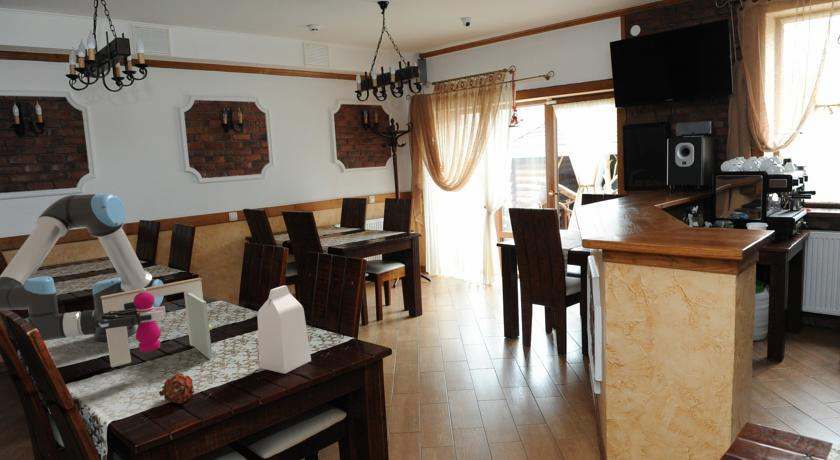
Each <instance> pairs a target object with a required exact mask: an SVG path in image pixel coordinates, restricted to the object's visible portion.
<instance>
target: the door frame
mask: <svg viewBox="0 0 840 460" xmlns="http://www.w3.org/2000/svg"><path fill="white" fill-rule="evenodd" d="M202 281H203V278H201V277H196V278H191V279H186V280H181V281H174V282H169V283H165V284H164V283H163V285H158V286H153V287H148V288H145V289H146V292H148V293H151V294H152V295H153V296H154V298H155V297H160V296H168V295H169V296H170V295H174V294H180V293H183V294H184V302H185V303H184V304H185V313H186V314H185V315H186V321H187V331H188V337H189V345H190V346H191V347H194V346H193V345H192V339H191V330H190V321H189V313H188V304H187V295H186V293H188V292H190V293H192V294H194V295H195V296H197V297H199V298H201V299H202V300H204V294H203V286H202ZM139 293H141V292H140V289H137V290H132V291H127V292H121V293H116V294H111V295H105V296H100V298H101V299H102V305H103V312H104V313H108V312H109V311H120V310H124V304H125V303H130V302H134V297H135V296H136V295H137V294H139ZM106 334H107V341H106V342H107V347H108V355H109V357H108V358H109V363H110V367H111V368H115V367H116V368H117V367H118V366H124V365H127V364H131V362H132V356H131V350H130V349H131V348H130V343H129V342H130V341H129V336H128V333H127V326H124V327H116V328H109V329H106Z"/></svg>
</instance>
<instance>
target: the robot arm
mask: <svg viewBox="0 0 840 460" xmlns="http://www.w3.org/2000/svg"><path fill="white" fill-rule="evenodd" d="M125 211H126V208H125V204H124V203H123V201H122V199H120V197H119V196H118V195H115V194H112V193H106V192H105V193H104V192H100V193H99V192H98V193H93V194H92V193H90V194H70V195H66V196H63V197H62V198H59V199H57V200H56V201H54V202H53V203H52V204H51V205H49V206H48V207H47V208H46V209H45V210H44V211H43V212H42V213H41V214H40V216H38V218H36V221H35V225H36V226H35V228H34V229H33V230H32V232H30V233H31V234H30V235H29V236H28V237H27V238H26V239H25V241H24V242H23V243H22V245H21V246H20V248H19V249H18V251H17V252H16V253H15V255H14V256H13V258H12V259H11V260H10V262H9V263H8V265H7V266H6V267H5V269H4V270H3V271H2V273H1V274H0V311H10V310H11V311H14V310H15V311H16V310H27V311H28V317H26V318H24V319H23V320H26V321H27V322H28V323H30V324H31V325H33V326H34V327H36V328H37V329H38V330H39V332H40V334H41V336H42V338H43V341H42V342H46V341H52V340H59V339H66V338H71V339H76V337H80V336H82V335H83V336H90V335H93V340H95V341H97V342H107V334H106V329H109V328H116V327H124V326H127V333H128V337H130V336H133V335H134V334H136V331H137V328H136V326H138V325H141V324H140V321H141V322H148V321H155V322H156V321H161V320H164V318H165V317H164V316H165V315H166V307H165V306H164V305H163V306H160V305H161V304H162V302H163V300H164V296H160V297H155V298H154V303H153V305H152V306H153V307H154V311H153V312H148V313H140V316H139V315H138V313H137V310H136V309H137V307H136V306H135V305H134V302H130V303H125V304H124V310H120V311H109V312H108V313H104V312H103V305H102V299H101V298H100V296H105V295H111V294H116V293H121V292H127V291H132V290H137V289H141V288H148V287H153V286H158V285H164V283H163V281H162V280H161V279H157V278H156V279H154V277H153V275H152V274H151V273H150V272H149V271H146V270H145V269H144V267H143V265H142V263H141V261H140V260H139V258H138V256H137V253H136V252H135V250H134V249H133V248H134V247H133V246H132V244H131V242H130V241H129V239H128V236H127V234H126V232H125V231H124V229H123V226H124V224H125V220H126V217H127V213H126V212H125ZM76 228H78V229H79V228H86V229H87V232H88V233H89V235H90V236H91V237H93V238H97V239H98V241H99V242H100V244H101V246H102V247H103V249H104V251H105V253H106V255H107V257H108V259H109V260H110V261H111V264H112V265H113V267H114V269H115V271H116V273H117V275H118V276H117V277H113V278H108V279H105V280H100V281H98V282H95V283H94V284H93V285H92V298H93V305H94V309H91V310H88V309H87V310H82V311H71V312H64V313H60V312H59V306H58V305H59V304H58V297H57V289H56V286H55V282H54V281H55V280H54V279H53V277H51V276H48V275H42V276H35V277H34V275H35V273H37V271H38V270H39V268H40V267H41V265H42V263H43V262H44V260H45V259H46V258H47V256H48V255H49V253H50V252H51V250H52V249H53V248H54V246H55V245H56V243H57V242H58V240H59V238H63V237H65V235H67V233H68V231H70V230H72V229H76Z"/></svg>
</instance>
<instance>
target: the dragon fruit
mask: <svg viewBox="0 0 840 460" xmlns="http://www.w3.org/2000/svg"><path fill="white" fill-rule="evenodd" d="M161 389H162V390H158V391H159V392H158V394H159V396H162V397H163V399H164V400H165V401H167V402H169V403H175V404H183V403H185V402H186V401H188V400H189V399H190V398H192V397H193V394H194V393H195V390H194V389H195V388H194V384H193V378H191V377H190V376H189V375H184V374H183V373H175V374H174V375H173V376H172V377H169V378H167V379H166V380H165V381H164V383H163V385H162V386H161Z"/></svg>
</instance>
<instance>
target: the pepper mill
mask: <svg viewBox="0 0 840 460" xmlns="http://www.w3.org/2000/svg"><path fill="white" fill-rule="evenodd" d="M140 292H141V293H139V294H137V295H136V296H135V297H134V305H135V306H136V307H137V309H136V310H137V313H138V315H139V316H140V313H148V312H153V311H154V307H153V306H152V305H153V303H154V296H153V295H152V294H151V293H148V292H146V289H145V288H141V289H140ZM140 324H141V325H138V324H137V328H136V333H135V339H136V341H138V342H139V344H138V350H139V351H140V352H150V351H154V350H157V349H159V348H160V347H161V341H160V340H159V339H160V338H161V334H162V333H161V329H160V327H159V325H158V324H157V322H156V320H155V321H148V322H141V321H140Z"/></svg>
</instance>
